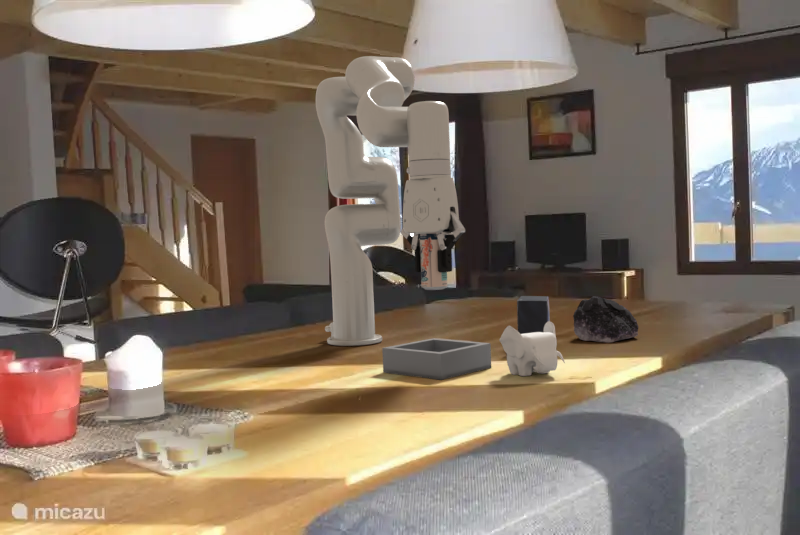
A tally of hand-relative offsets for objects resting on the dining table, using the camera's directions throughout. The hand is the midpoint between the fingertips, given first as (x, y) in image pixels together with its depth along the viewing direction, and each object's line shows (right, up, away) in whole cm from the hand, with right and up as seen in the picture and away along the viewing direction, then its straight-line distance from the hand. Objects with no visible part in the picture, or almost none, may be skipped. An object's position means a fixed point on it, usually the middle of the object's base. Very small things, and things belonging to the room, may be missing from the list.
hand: (433, 270), depth 157 cm
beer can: (0, -4, 0) cm, 4 cm away
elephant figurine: (+17, -18, -7) cm, 26 cm away
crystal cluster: (+39, -15, +33) cm, 54 cm away
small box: (+22, -16, +24) cm, 37 cm away
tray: (+1, -18, +1) cm, 18 cm away
